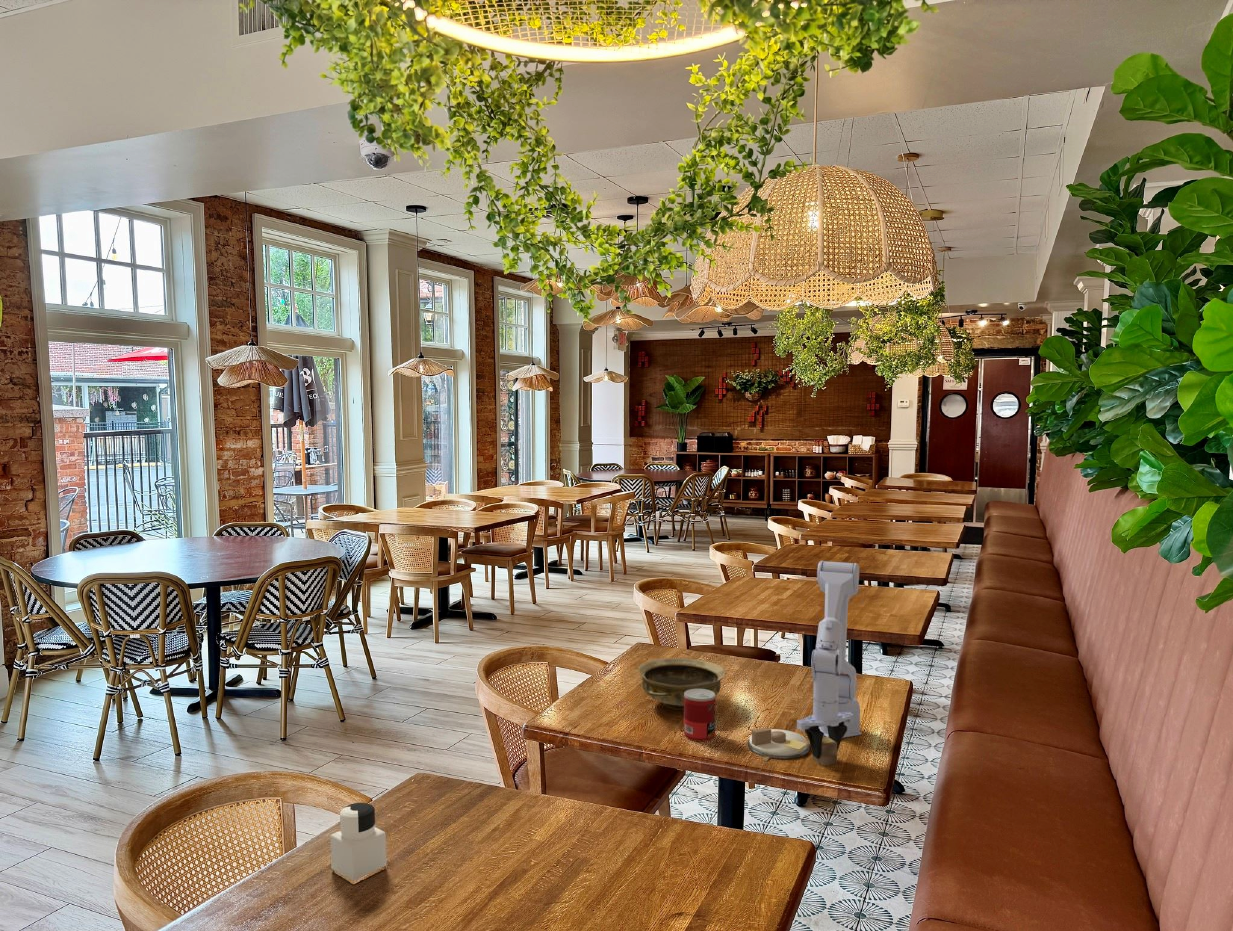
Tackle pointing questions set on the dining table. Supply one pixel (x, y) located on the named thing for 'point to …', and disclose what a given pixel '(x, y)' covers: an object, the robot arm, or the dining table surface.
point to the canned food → (699, 714)
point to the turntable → (777, 742)
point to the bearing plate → (778, 756)
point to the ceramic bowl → (678, 679)
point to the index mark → (766, 758)
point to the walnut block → (827, 752)
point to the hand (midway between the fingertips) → (824, 755)
